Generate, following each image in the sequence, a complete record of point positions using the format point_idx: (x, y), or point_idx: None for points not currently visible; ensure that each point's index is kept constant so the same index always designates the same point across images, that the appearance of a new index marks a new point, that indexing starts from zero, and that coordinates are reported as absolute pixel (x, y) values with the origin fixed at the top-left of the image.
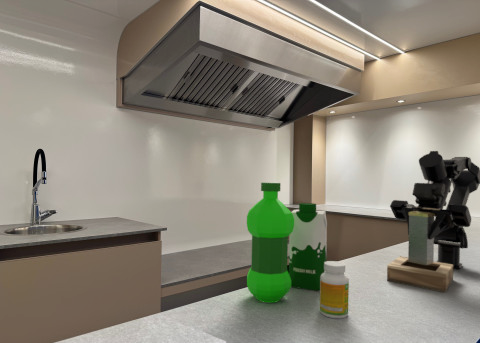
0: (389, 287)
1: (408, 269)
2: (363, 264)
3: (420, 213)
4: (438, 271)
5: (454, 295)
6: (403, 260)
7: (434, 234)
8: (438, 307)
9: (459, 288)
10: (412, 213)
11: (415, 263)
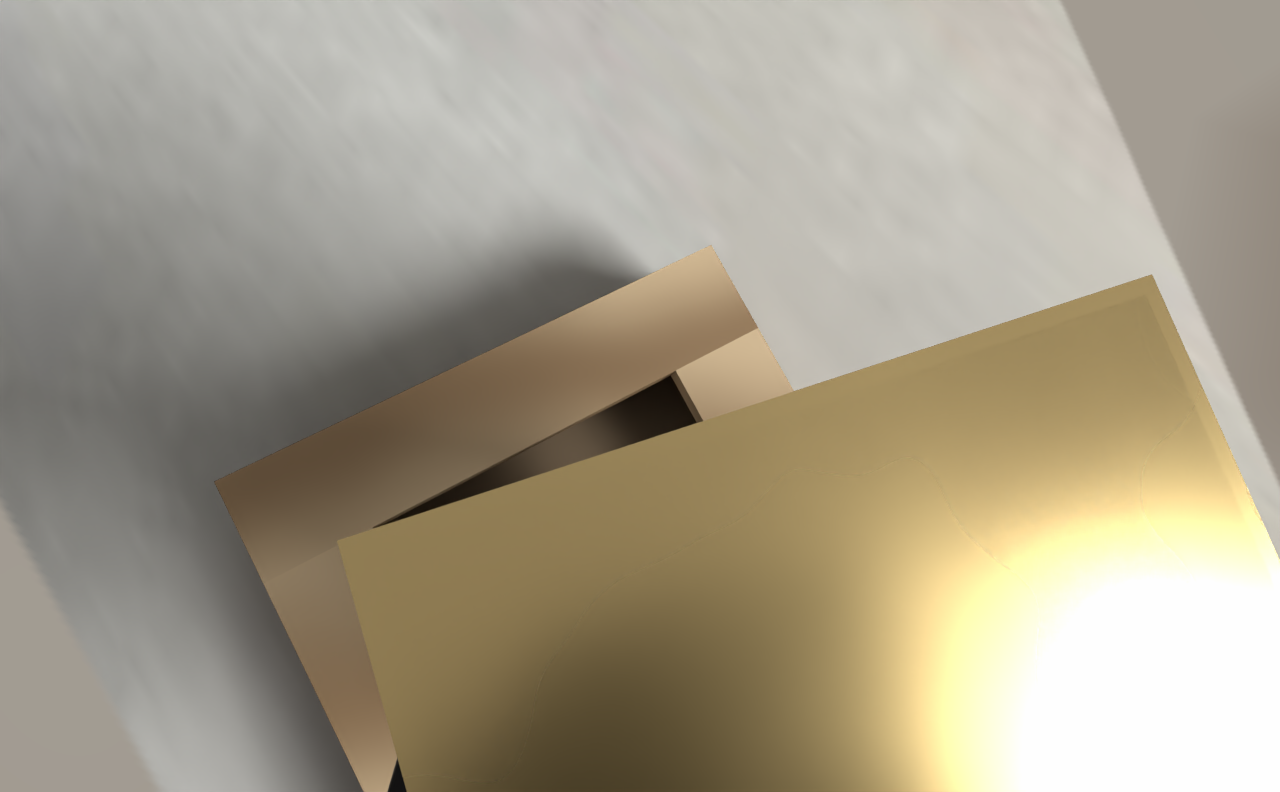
0: (547, 180)
1: (540, 328)
2: None
3: (694, 425)
4: None
5: (198, 505)
6: None
7: None
8: (95, 144)
9: (295, 737)
10: (990, 336)
11: None
